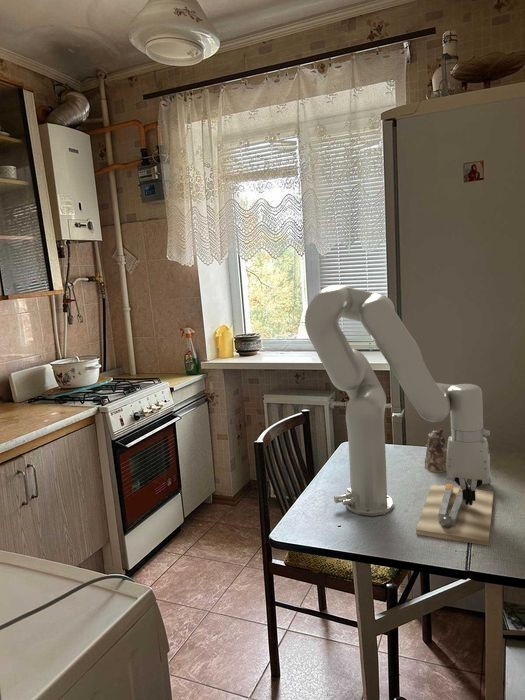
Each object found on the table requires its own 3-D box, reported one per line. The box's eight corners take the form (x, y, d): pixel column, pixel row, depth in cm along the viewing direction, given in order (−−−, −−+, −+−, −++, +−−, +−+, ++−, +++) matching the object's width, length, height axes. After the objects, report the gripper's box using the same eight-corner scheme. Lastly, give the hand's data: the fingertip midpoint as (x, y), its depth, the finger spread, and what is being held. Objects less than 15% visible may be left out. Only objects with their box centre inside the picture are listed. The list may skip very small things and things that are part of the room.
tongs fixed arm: (445, 522, 127) (445, 514, 127) (437, 521, 128) (437, 513, 128) (453, 491, 143) (453, 484, 142) (446, 490, 144) (446, 483, 143)
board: (488, 545, 119) (488, 540, 119) (416, 534, 126) (415, 529, 126) (493, 495, 142) (493, 491, 142) (431, 488, 149) (431, 484, 149)
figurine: (419, 465, 165) (419, 429, 163) (438, 461, 167) (438, 425, 165) (434, 473, 158) (433, 435, 156) (453, 469, 160) (453, 431, 158)
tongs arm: (454, 529, 124) (454, 521, 123) (440, 527, 125) (440, 518, 125) (467, 493, 141) (467, 486, 141) (454, 491, 143) (454, 484, 142)
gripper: (500, 430, 131) (501, 499, 134) (437, 427, 137) (440, 493, 140) (499, 441, 124) (501, 513, 127) (433, 437, 131) (436, 505, 134)
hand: (469, 502), depth 134 cm, fingers closed
